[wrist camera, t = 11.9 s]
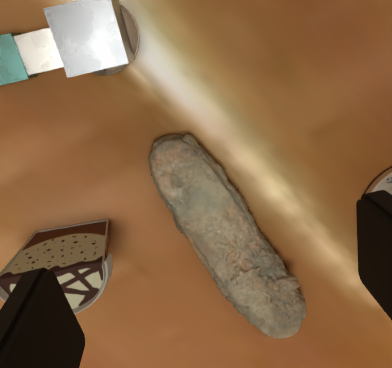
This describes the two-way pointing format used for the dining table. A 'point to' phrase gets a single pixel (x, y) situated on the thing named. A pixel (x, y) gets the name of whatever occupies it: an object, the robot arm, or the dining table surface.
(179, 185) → the elongated rock
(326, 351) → the dining table surface
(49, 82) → the dining table surface
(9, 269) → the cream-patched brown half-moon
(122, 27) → the brushed metal cube
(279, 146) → the dining table surface
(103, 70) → the ratchet
